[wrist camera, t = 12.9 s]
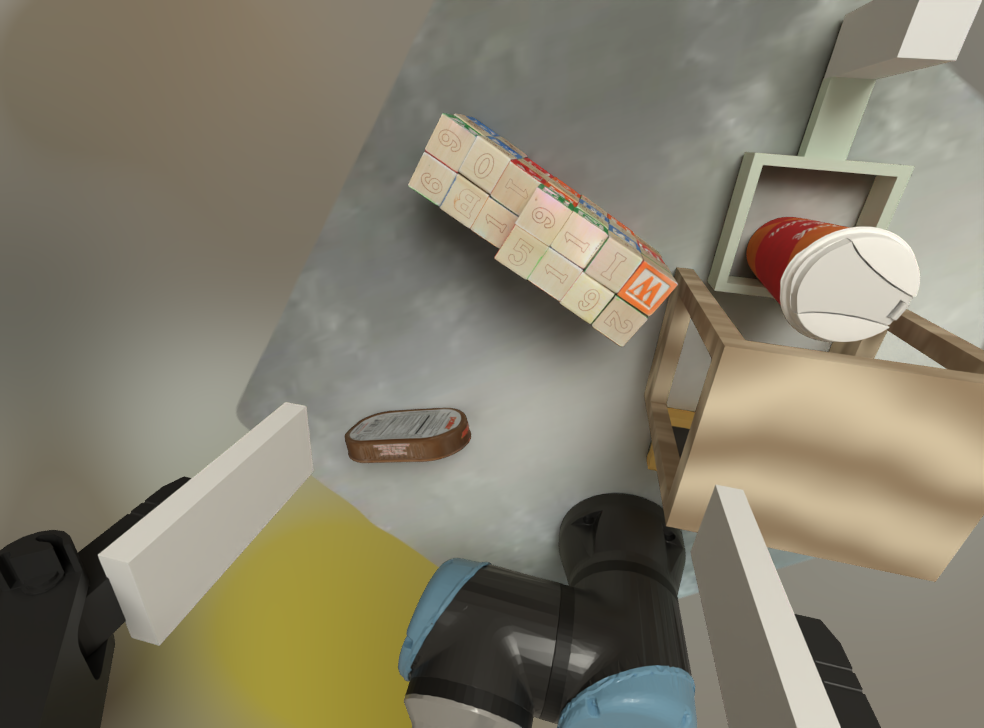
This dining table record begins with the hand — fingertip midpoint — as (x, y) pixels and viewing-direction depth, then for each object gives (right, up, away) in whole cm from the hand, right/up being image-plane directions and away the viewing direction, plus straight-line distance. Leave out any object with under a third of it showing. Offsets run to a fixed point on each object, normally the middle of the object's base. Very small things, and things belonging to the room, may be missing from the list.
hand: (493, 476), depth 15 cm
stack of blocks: (+6, +18, +30) cm, 35 cm away
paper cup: (+26, +14, +27) cm, 40 cm away
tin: (-9, -3, +43) cm, 44 cm away
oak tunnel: (+25, +5, +31) cm, 40 cm away
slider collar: (+26, +20, +23) cm, 40 cm away
